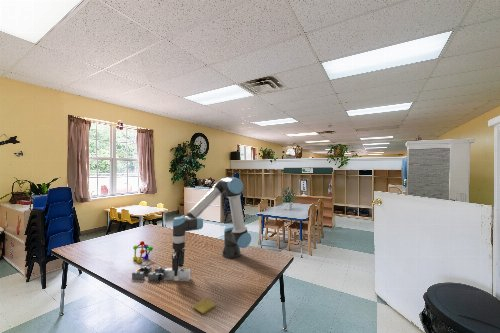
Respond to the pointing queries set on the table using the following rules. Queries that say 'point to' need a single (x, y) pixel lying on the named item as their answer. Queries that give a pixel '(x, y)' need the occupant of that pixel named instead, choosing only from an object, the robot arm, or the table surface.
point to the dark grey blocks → (149, 273)
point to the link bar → (183, 274)
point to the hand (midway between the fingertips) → (178, 278)
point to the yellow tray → (204, 305)
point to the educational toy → (142, 252)
